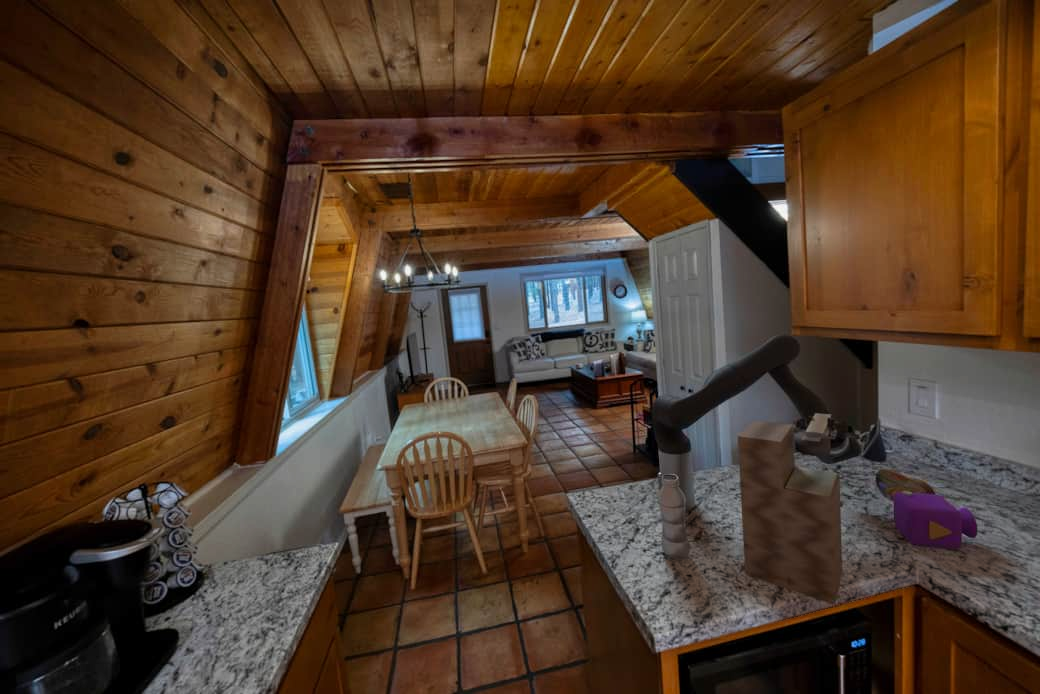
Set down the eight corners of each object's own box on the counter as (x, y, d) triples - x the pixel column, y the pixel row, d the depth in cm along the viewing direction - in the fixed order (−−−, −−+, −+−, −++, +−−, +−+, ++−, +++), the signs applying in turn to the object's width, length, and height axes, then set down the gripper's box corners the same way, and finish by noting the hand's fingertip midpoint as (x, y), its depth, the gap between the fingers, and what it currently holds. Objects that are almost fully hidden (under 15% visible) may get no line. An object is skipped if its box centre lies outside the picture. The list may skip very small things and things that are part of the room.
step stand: (745, 574, 91) (737, 436, 87) (758, 547, 100) (752, 420, 96) (835, 605, 80) (830, 448, 76) (842, 571, 89) (838, 429, 85)
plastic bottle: (676, 567, 96) (670, 486, 94) (656, 552, 102) (650, 475, 100) (696, 557, 98) (691, 478, 96) (675, 543, 104) (670, 469, 102)
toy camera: (991, 553, 89) (991, 510, 88) (917, 552, 92) (917, 510, 91) (950, 526, 100) (950, 487, 99) (885, 525, 103) (884, 487, 101)
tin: (874, 492, 118) (874, 464, 117) (885, 490, 118) (885, 463, 117) (927, 519, 103) (927, 487, 102) (939, 517, 103) (939, 486, 102)
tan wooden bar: (792, 453, 85) (792, 439, 85) (808, 424, 99) (807, 412, 99) (828, 458, 81) (828, 443, 81) (839, 427, 95) (839, 415, 95)
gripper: (797, 419, 110) (784, 402, 98) (865, 425, 101) (859, 408, 89) (795, 447, 108) (782, 433, 96) (864, 456, 99) (859, 442, 87)
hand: (819, 421), depth 93 cm, fingers closed on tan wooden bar, 3 cm apart
